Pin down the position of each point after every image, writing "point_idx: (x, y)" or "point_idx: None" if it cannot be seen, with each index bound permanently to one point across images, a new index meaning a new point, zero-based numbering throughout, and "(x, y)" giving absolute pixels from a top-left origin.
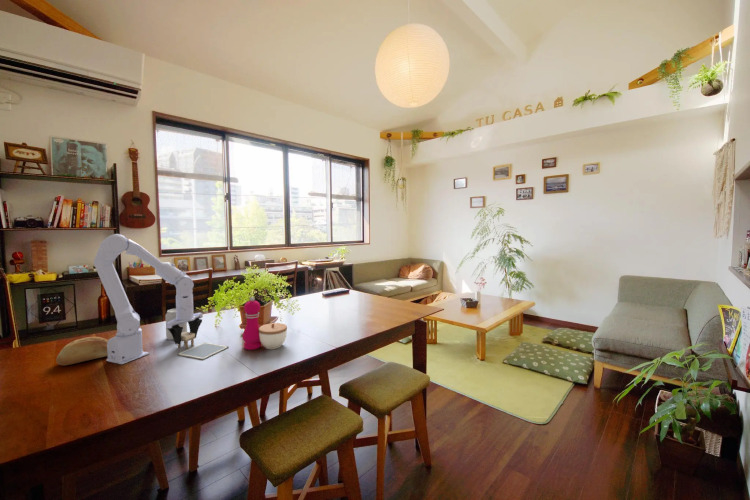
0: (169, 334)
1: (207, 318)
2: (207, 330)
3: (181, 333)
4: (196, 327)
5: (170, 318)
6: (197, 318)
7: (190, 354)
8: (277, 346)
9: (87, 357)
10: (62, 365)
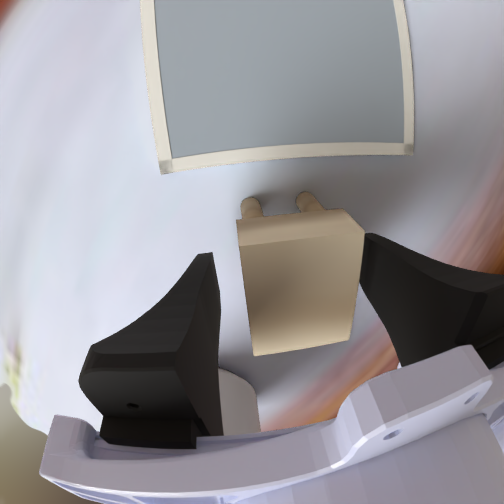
0: (257, 410)
1: (39, 421)
2: (56, 353)
3: (302, 343)
4: (194, 308)
5: None
6: (133, 436)
7: (389, 60)
8: None
9: None
10: None
